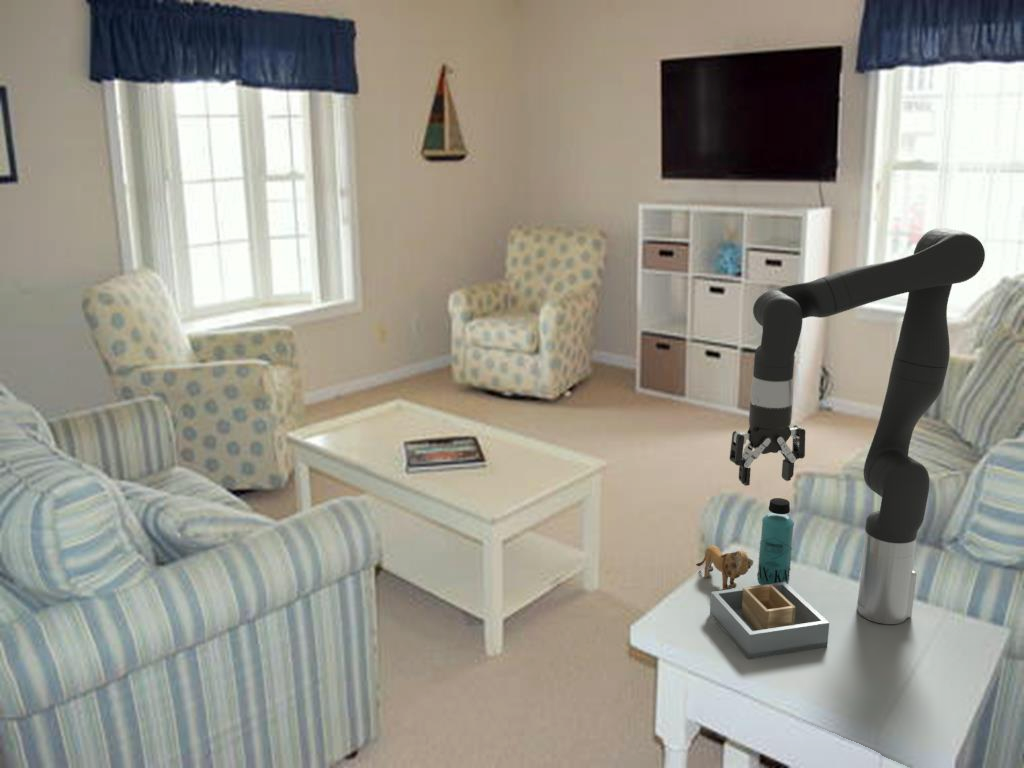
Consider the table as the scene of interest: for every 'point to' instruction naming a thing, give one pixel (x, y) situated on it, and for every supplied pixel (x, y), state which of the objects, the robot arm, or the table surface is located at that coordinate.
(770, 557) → the beverage bottle
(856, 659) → the table surface
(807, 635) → the grey square tray
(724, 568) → the lion figurine
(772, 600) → the small oak crate
